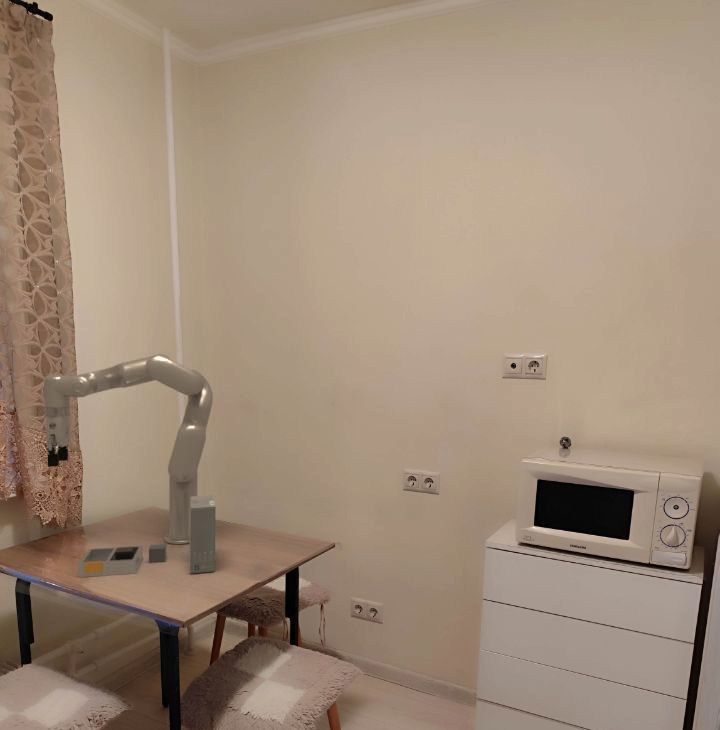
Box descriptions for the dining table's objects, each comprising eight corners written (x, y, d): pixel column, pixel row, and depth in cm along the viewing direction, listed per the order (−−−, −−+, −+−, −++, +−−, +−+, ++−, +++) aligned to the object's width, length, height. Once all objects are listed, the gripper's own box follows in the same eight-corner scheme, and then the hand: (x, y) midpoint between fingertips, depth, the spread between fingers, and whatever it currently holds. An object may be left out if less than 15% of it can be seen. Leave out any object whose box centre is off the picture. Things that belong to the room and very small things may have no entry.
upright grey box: (166, 557, 186) (166, 544, 186) (164, 562, 182) (164, 548, 182) (150, 558, 185) (150, 545, 185) (148, 563, 181) (148, 549, 181)
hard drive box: (215, 572, 174) (215, 506, 173) (189, 575, 172) (189, 508, 171) (213, 554, 189) (213, 494, 188) (189, 556, 187) (189, 495, 186)
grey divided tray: (142, 557, 185) (142, 541, 185) (135, 573, 172) (135, 556, 172) (89, 561, 182) (89, 544, 182) (77, 577, 169) (77, 559, 169)
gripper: (61, 415, 184) (62, 468, 185) (77, 409, 201) (77, 458, 202) (35, 415, 183) (36, 469, 183) (53, 409, 200) (54, 458, 200)
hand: (58, 463), depth 193 cm, fingers open, 9 cm apart
